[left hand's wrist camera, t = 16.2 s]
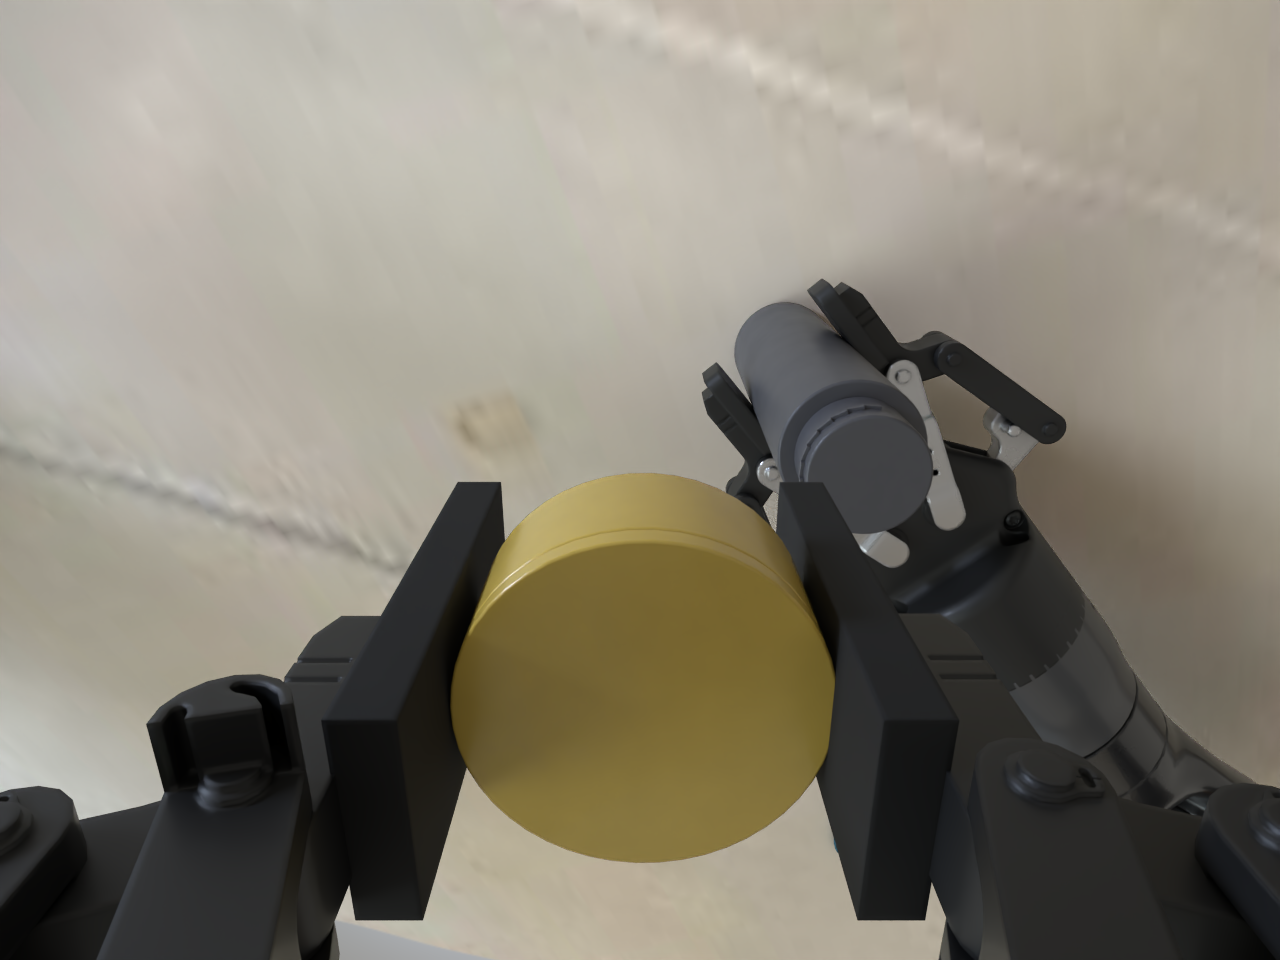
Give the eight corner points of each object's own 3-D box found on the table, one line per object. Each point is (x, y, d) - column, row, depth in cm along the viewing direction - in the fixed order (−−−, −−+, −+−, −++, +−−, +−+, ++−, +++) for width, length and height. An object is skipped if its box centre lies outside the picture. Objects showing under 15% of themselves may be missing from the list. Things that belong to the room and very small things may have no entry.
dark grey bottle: (770, 283, 36) (853, 367, 21) (849, 335, 37) (986, 453, 22) (715, 365, 38) (756, 500, 22) (793, 413, 39) (884, 577, 23)
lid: (529, 775, 13) (508, 889, 11) (440, 509, 12) (396, 585, 10) (825, 723, 13) (860, 831, 11) (778, 440, 11) (810, 502, 9)
